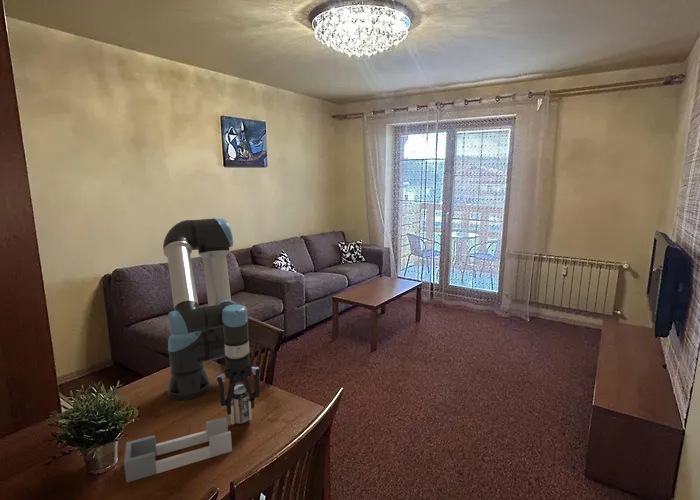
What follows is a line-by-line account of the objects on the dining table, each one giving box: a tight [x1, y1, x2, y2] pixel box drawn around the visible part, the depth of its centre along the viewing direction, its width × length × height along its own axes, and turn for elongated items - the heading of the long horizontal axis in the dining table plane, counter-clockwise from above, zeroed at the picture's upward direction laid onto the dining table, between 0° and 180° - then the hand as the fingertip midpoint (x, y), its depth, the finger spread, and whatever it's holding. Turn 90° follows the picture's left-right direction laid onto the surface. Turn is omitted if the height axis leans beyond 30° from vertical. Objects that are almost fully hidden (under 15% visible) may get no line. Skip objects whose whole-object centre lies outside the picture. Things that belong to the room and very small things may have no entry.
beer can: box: [232, 383, 249, 425], centre depth 126 cm, size 5×5×12 cm
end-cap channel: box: [123, 416, 233, 484], centre depth 112 cm, size 9×27×6 cm, turn 116°
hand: (241, 419), depth 128 cm, fingers closed on beer can, 5 cm apart
